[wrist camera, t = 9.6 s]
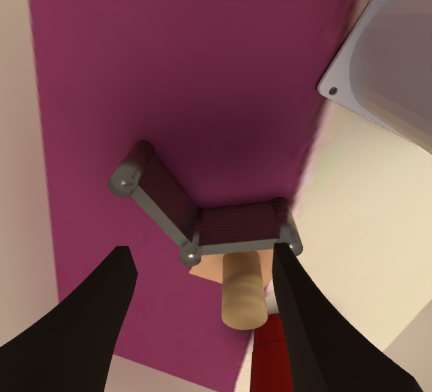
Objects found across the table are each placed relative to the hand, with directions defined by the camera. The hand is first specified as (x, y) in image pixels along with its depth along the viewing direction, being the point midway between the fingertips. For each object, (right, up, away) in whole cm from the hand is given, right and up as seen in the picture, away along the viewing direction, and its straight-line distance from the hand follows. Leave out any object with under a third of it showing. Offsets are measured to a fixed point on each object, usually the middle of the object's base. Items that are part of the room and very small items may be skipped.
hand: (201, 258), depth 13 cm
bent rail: (0, +3, +9) cm, 10 cm away
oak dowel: (+3, -3, +13) cm, 13 cm away
